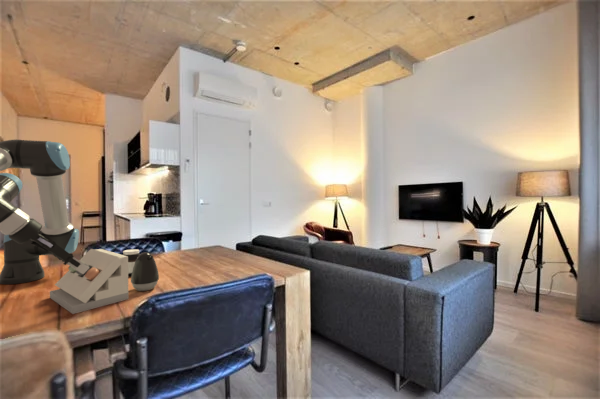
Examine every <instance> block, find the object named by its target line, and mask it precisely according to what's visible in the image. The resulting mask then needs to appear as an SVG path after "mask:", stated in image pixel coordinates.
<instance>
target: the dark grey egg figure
mask: <svg viewBox="0 0 600 399" xmlns="http://www.w3.org/2000/svg"><path fill="white" fill-rule="evenodd" d="M139 254H140V255H139V256H138V257H137V259H136V261H135V264H134V267H133V270H132V276H130V283H131V285H132V288H133V289H134V290H135V291H137V292H138V291H139V292H146V291H150V290H153V289H154V288H155V287H156V286H157V284H158V282H159V279H160V275H159V270H158V265H157V263H156V260H155V258H154V256H153V255H152V254H151V253H149V252H141V253H139Z"/></svg>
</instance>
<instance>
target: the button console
mask: <svg viewBox="0 0 600 399" xmlns="http://www.w3.org/2000/svg"><path fill="white" fill-rule="evenodd" d="M78 260H79V261H81V262H82V263H84V264H87V265H88V266H89V267H91V268H93V267H95V268H96V269H98V270H99V271H100V273H99V274H98V275H97V276H96V277H95V278H94V280H93V281H90V280H89V279H87V278H86V277H85V275H84V276H83V277H82V276H80V275H79V274H77V273H76V272H75V273H73V272H72V271H70V270H69V269H68V271H67V272H66V273H65V274H64V275H63V276H62V277H61V278H60V279H59V280H58V281H56V283H55V284H54V286H56V287H57V288H59V289H53V290H49V298H50V299H51V300H52V301H54V302H55V303H56V304H57V305H60V306H61V307H62V308H64V309H65V310H67V311H68V312H69V313H70V314H72V315H74V314H78V313H82V312H85V311H90V310H93V309H96V308H102V307H105V306H107V305H111V304H115V303H119V302H122V301H125V300H126V301H127V300H129V276H128V256H124V255H123V254H120V253H117V252H113V251H110V250H106V249H103V248H99V249H93V248H90V249H89V250H88V251H87V252H86V253H85V254H84V255H83V256H82V257H81V258H80V259H78Z"/></svg>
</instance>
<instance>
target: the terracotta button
mask: <svg viewBox="0 0 600 399" xmlns="http://www.w3.org/2000/svg"><path fill="white" fill-rule="evenodd" d="M99 273H100V271H99V270H98V269H96V268H95V267H93V268H91V269H90V270H88V271H87V273H86V274H85V277H86V278H87V279H89V280H90V281H93V280H94V278H95V277H96V276H97V275H98V274H99Z"/></svg>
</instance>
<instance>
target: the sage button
mask: <svg viewBox="0 0 600 399" xmlns="http://www.w3.org/2000/svg"><path fill="white" fill-rule="evenodd" d="M68 266H69V265H68ZM69 270H70V271H72V272H73V273H75V272H76V271H77V270H75V269H74V268H72V267H71V266H69V267H68V271H69Z"/></svg>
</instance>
